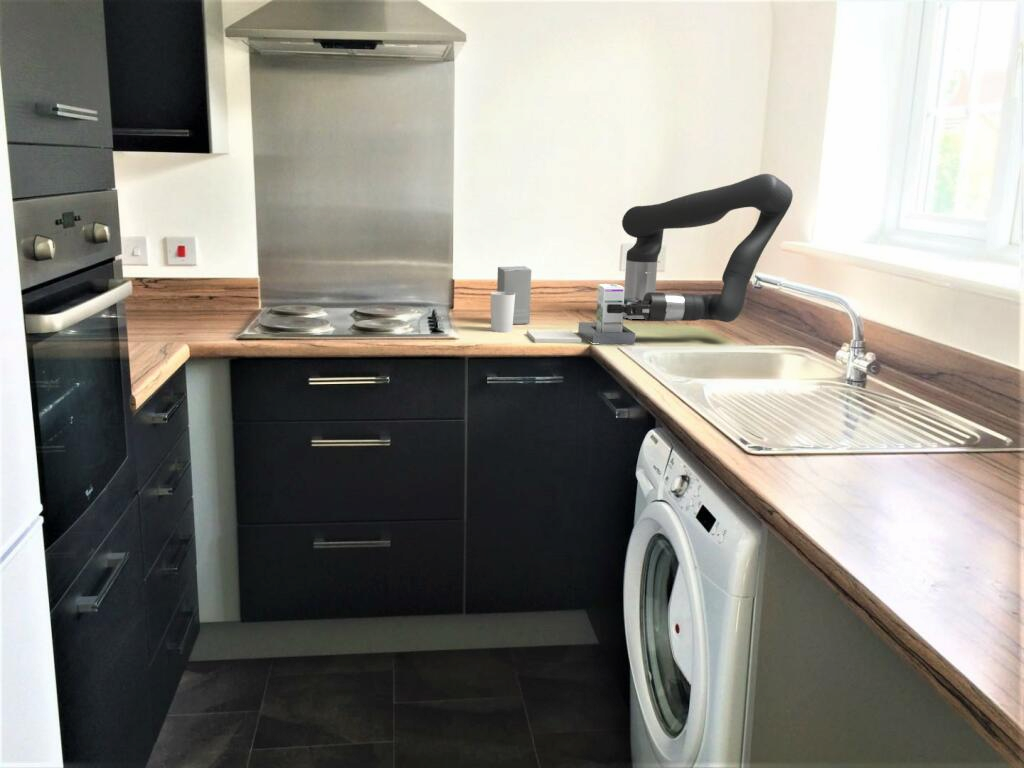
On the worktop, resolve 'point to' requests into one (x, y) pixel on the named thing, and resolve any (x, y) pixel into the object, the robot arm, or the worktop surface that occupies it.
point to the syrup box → (603, 318)
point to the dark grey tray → (605, 334)
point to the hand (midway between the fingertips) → (603, 306)
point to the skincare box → (517, 290)
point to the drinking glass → (502, 311)
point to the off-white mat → (553, 336)
